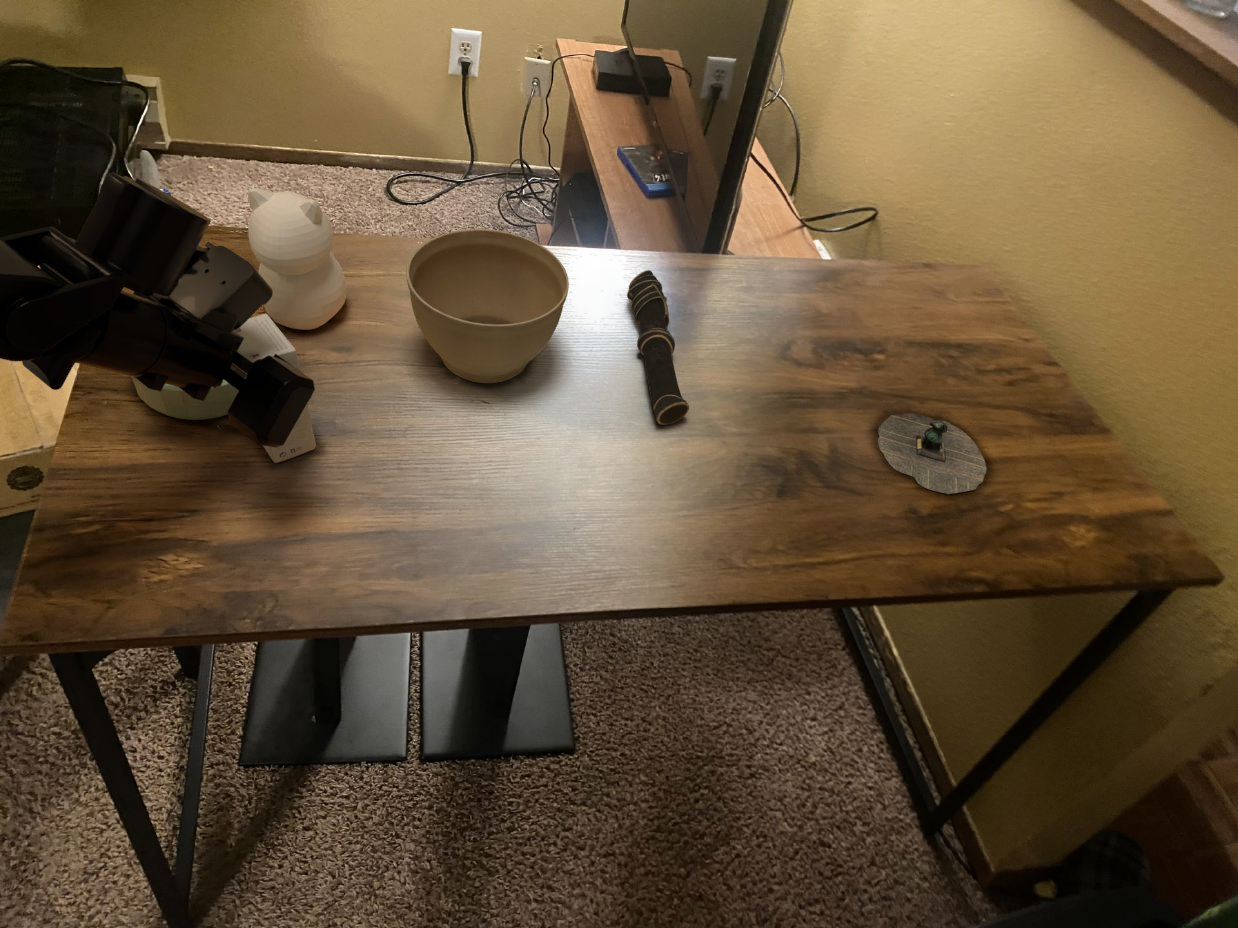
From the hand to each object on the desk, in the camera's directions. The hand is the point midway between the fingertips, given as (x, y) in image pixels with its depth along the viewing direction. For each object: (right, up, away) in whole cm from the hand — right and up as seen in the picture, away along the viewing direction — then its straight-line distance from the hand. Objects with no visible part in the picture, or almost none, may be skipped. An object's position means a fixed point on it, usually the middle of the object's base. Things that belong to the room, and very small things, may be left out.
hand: (283, 378), depth 75 cm
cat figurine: (-4, +10, +18) cm, 20 cm away
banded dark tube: (+34, +5, +21) cm, 40 cm away
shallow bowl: (-11, +1, +8) cm, 13 cm away
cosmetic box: (-2, -5, +4) cm, 7 cm away
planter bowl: (+16, +4, +16) cm, 23 cm away
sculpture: (+65, -6, +17) cm, 67 cm away
